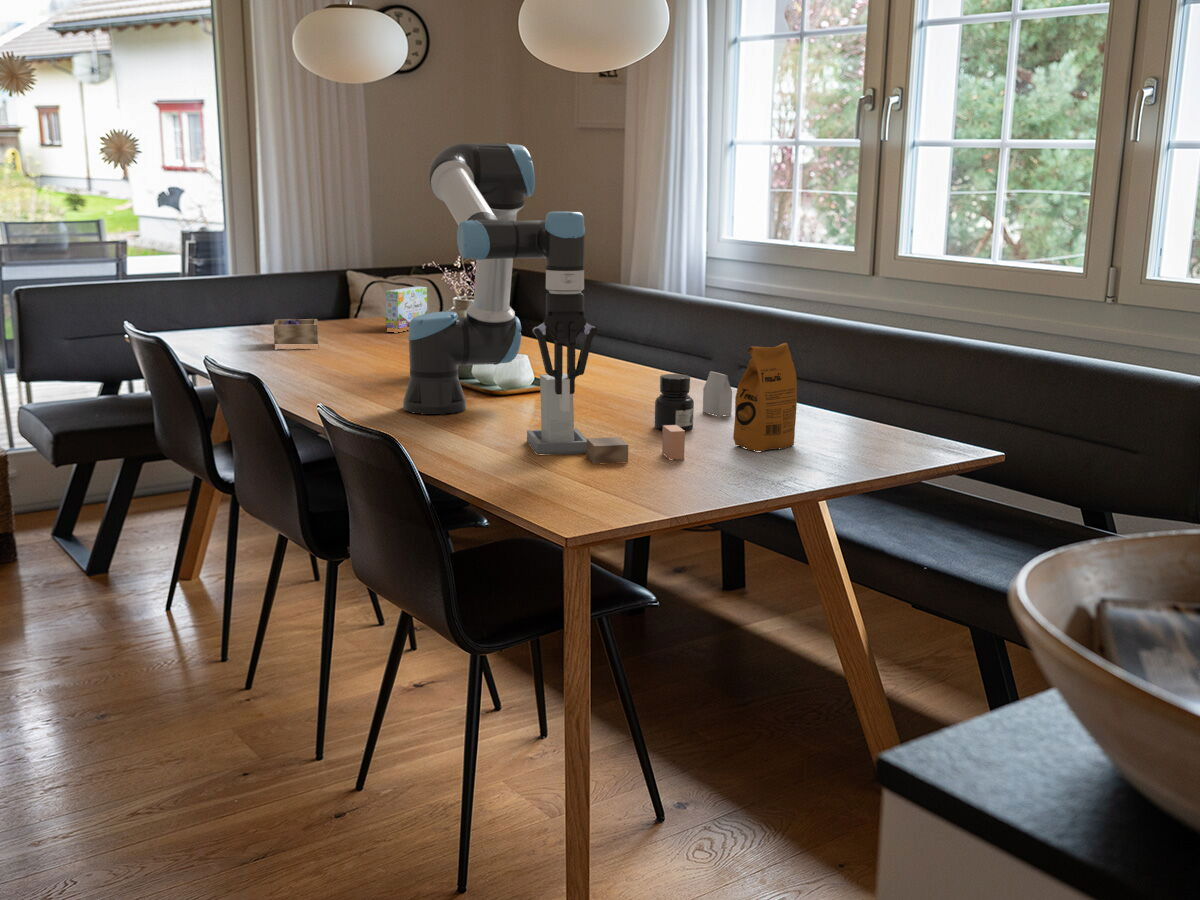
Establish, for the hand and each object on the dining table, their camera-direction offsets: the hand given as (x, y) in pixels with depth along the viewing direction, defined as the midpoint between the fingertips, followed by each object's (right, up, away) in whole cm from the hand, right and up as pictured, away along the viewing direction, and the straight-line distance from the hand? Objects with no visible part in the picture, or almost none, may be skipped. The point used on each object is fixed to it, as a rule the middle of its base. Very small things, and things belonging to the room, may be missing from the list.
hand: (564, 410), depth 237 cm
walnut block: (+9, -10, +5) cm, 14 cm away
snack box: (-63, +35, +192) cm, 205 cm away
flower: (-94, +26, +151) cm, 180 cm away
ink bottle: (+24, -3, +35) cm, 43 cm away
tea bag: (+36, +1, +52) cm, 63 cm away
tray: (-2, -7, +14) cm, 16 cm away
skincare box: (-2, -7, +14) cm, 16 cm away
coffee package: (+42, -7, +18) cm, 47 cm away
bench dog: (+22, -9, +8) cm, 25 cm away
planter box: (-92, +26, +149) cm, 177 cm away
